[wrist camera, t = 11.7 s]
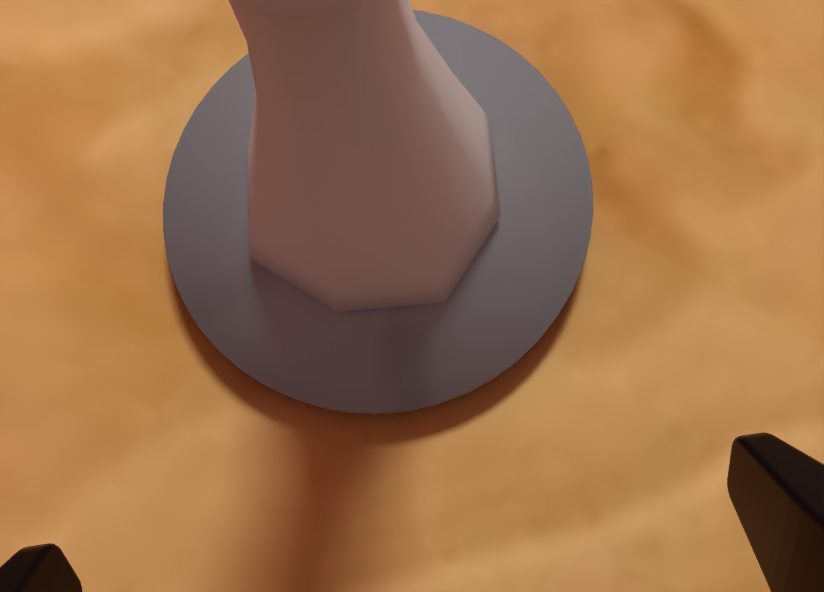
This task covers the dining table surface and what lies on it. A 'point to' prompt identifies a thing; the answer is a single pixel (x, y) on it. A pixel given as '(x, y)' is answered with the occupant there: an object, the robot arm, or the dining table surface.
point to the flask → (362, 154)
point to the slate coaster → (395, 326)
